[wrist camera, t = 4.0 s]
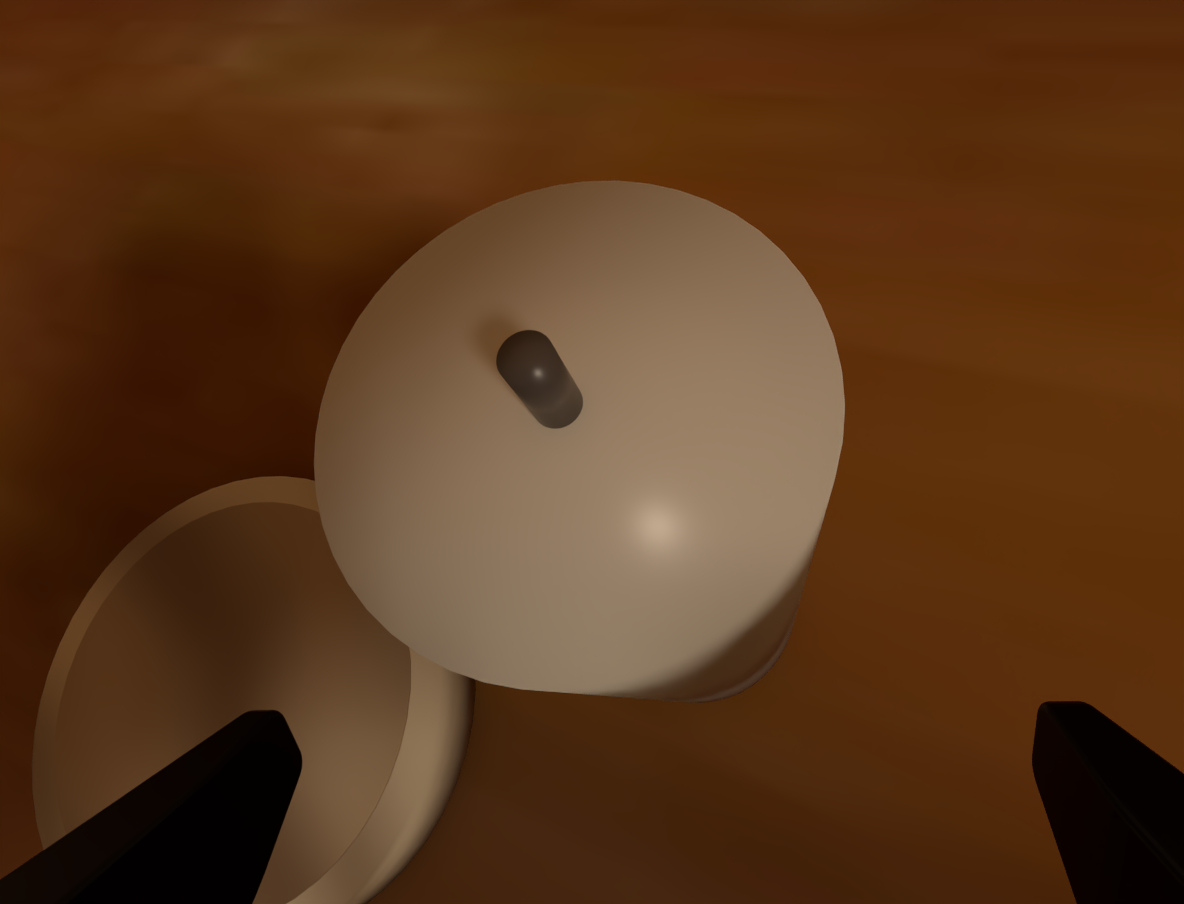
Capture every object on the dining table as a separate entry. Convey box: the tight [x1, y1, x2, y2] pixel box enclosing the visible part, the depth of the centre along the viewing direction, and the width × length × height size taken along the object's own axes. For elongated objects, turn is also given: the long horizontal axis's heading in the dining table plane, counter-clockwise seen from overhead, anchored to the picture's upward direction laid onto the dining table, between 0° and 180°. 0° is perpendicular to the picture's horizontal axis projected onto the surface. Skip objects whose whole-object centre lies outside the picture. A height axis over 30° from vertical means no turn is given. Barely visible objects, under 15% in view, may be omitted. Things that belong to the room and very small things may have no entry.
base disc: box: [32, 476, 476, 904], centre depth 19 cm, size 12×12×2 cm
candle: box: [314, 181, 845, 703], centre depth 12 cm, size 5×5×14 cm
